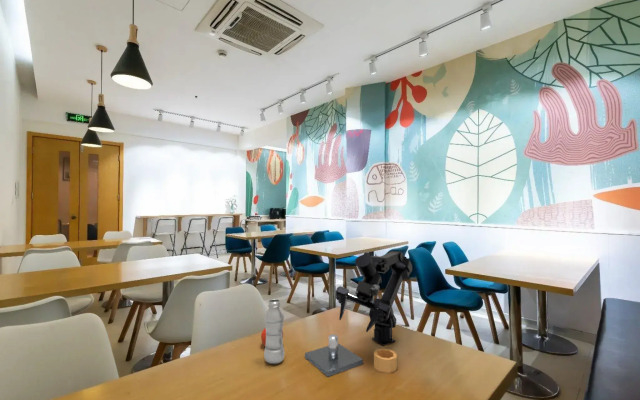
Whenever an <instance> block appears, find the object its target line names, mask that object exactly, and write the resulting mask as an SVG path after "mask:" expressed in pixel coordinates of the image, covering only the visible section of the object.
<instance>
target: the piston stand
mask: <svg viewBox="0 0 640 400" xmlns="http://www.w3.org/2000/svg"><path fill="white" fill-rule="evenodd" d="M304 358H305V359H306V360H307V361H308V362H310V363H311V364H312V365H313V366H314V367H315V368H317V370H319V371H320V372H321V373H322V374H324V375H325V376H326V377H327V378H329V377H332V376H334V375H336V374H340V373H342V372H345V371H348V370H350V369H353V368H357V367H359V366H362V365H363V364H364V359H363V358H362V357H360V356H359V355H357V354H356V353H354V352H352V351H351V350H349V349H348V348H346V347H345V346H343V345H342V344H340V343H339V336H338V334H329V335H328V345H327V346H323V347H319V348H317V349H314V350H311V351H308V352H305V353H304Z"/></svg>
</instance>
